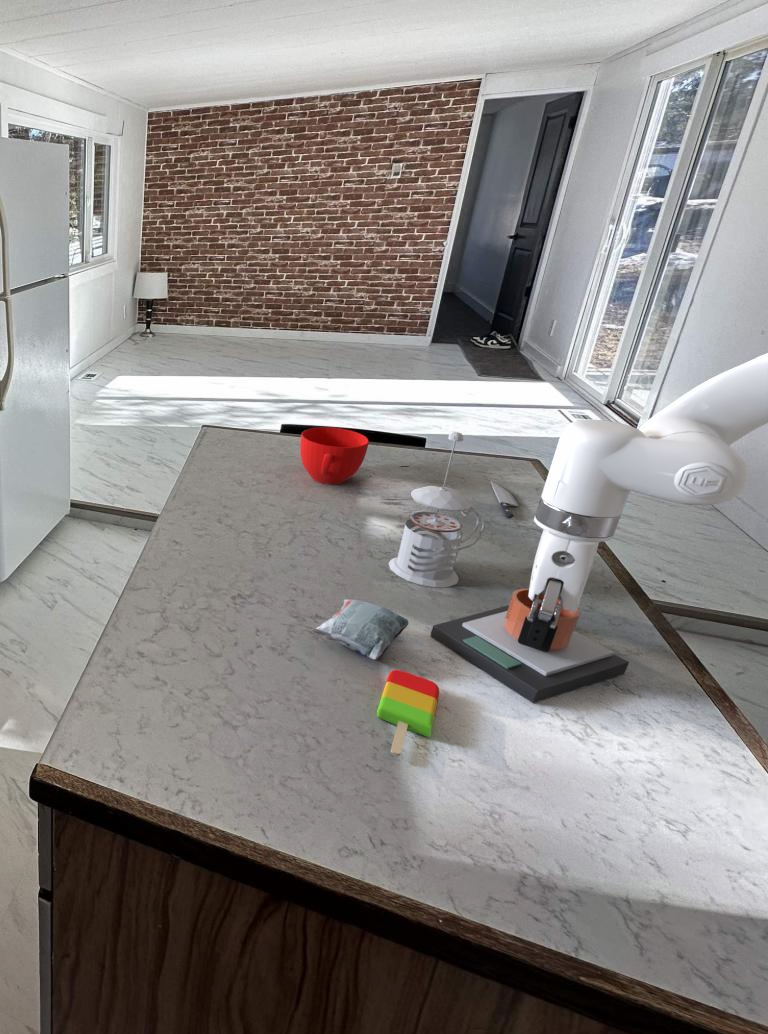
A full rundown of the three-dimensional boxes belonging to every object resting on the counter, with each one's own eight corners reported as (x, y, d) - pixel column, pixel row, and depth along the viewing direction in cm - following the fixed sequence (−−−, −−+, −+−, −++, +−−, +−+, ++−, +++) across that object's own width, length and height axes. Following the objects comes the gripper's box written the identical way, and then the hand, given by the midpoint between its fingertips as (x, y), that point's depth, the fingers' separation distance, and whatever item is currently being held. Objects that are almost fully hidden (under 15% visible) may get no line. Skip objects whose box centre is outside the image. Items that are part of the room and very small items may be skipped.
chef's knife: (507, 485, 136) (489, 482, 137) (508, 480, 135) (491, 477, 137) (525, 523, 120) (505, 519, 122) (527, 518, 120) (507, 514, 121)
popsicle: (438, 694, 82) (441, 682, 81) (422, 771, 72) (425, 758, 71) (388, 676, 85) (391, 665, 85) (366, 747, 75) (368, 735, 74)
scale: (513, 613, 96) (517, 599, 95) (624, 674, 84) (631, 658, 83) (429, 636, 92) (433, 621, 91) (533, 703, 80) (539, 687, 79)
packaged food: (309, 643, 92) (315, 615, 90) (344, 609, 99) (350, 582, 97) (375, 674, 86) (382, 644, 84) (407, 636, 93) (415, 608, 91)
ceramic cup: (287, 490, 139) (293, 447, 135) (300, 463, 152) (306, 423, 148) (355, 502, 132) (363, 458, 128) (363, 473, 145) (371, 432, 141)
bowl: (526, 617, 91) (537, 584, 89) (580, 646, 85) (593, 611, 83) (490, 627, 90) (500, 594, 88) (543, 657, 84) (555, 622, 82)
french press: (379, 554, 113) (408, 421, 104) (453, 558, 111) (489, 422, 102) (402, 585, 104) (436, 442, 95) (483, 590, 102) (526, 444, 93)
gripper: (614, 554, 72) (567, 678, 79) (618, 501, 84) (577, 614, 90) (529, 534, 77) (491, 652, 84) (543, 487, 89) (509, 594, 95)
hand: (536, 631), depth 87 cm, fingers open, 7 cm apart
